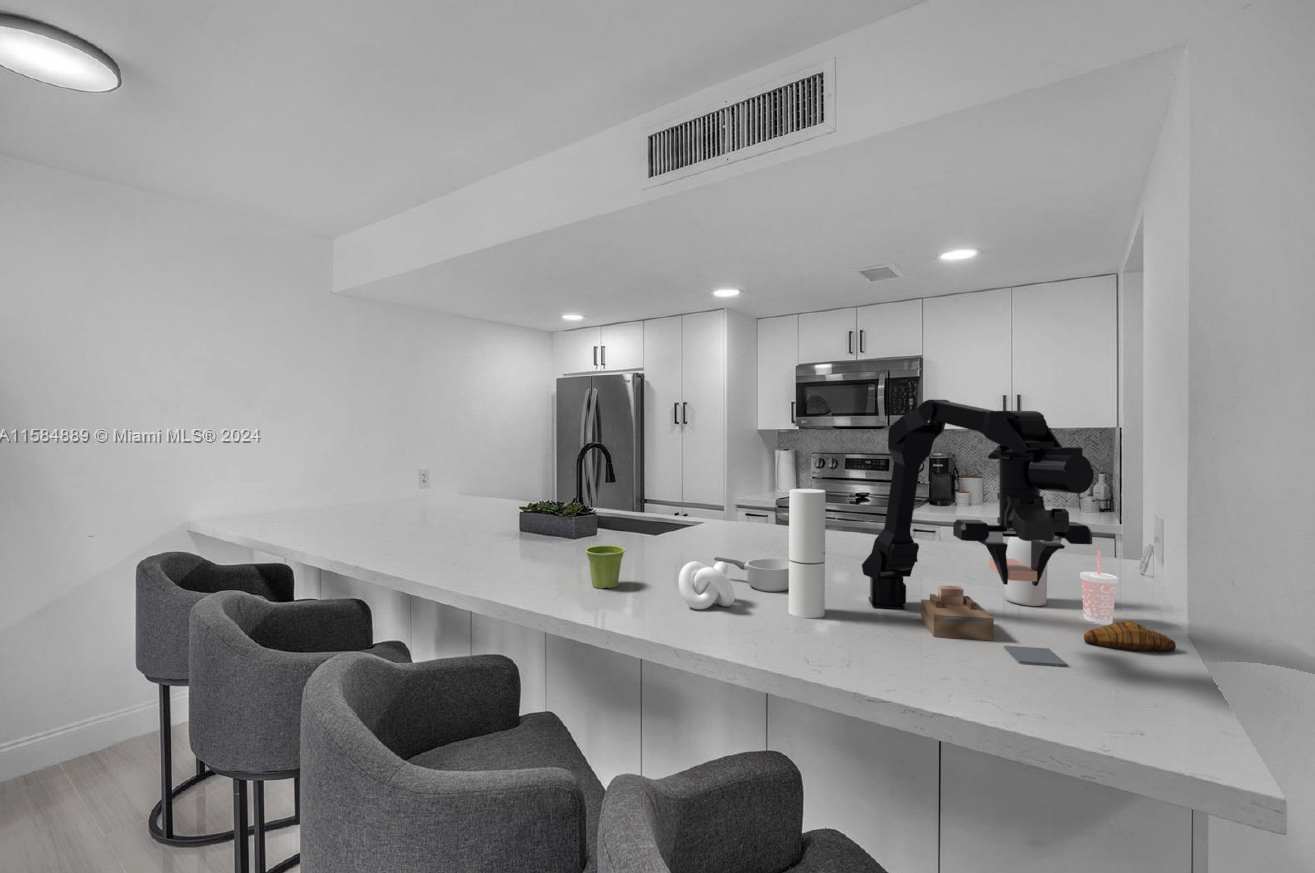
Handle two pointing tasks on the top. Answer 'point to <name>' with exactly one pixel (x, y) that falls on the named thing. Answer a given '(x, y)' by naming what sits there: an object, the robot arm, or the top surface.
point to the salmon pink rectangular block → (1016, 570)
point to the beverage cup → (1098, 595)
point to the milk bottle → (1024, 589)
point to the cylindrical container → (807, 553)
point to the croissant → (1129, 638)
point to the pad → (1035, 655)
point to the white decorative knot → (705, 585)
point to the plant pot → (605, 565)
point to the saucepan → (764, 573)
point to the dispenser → (956, 615)
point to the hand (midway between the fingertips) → (1019, 584)
